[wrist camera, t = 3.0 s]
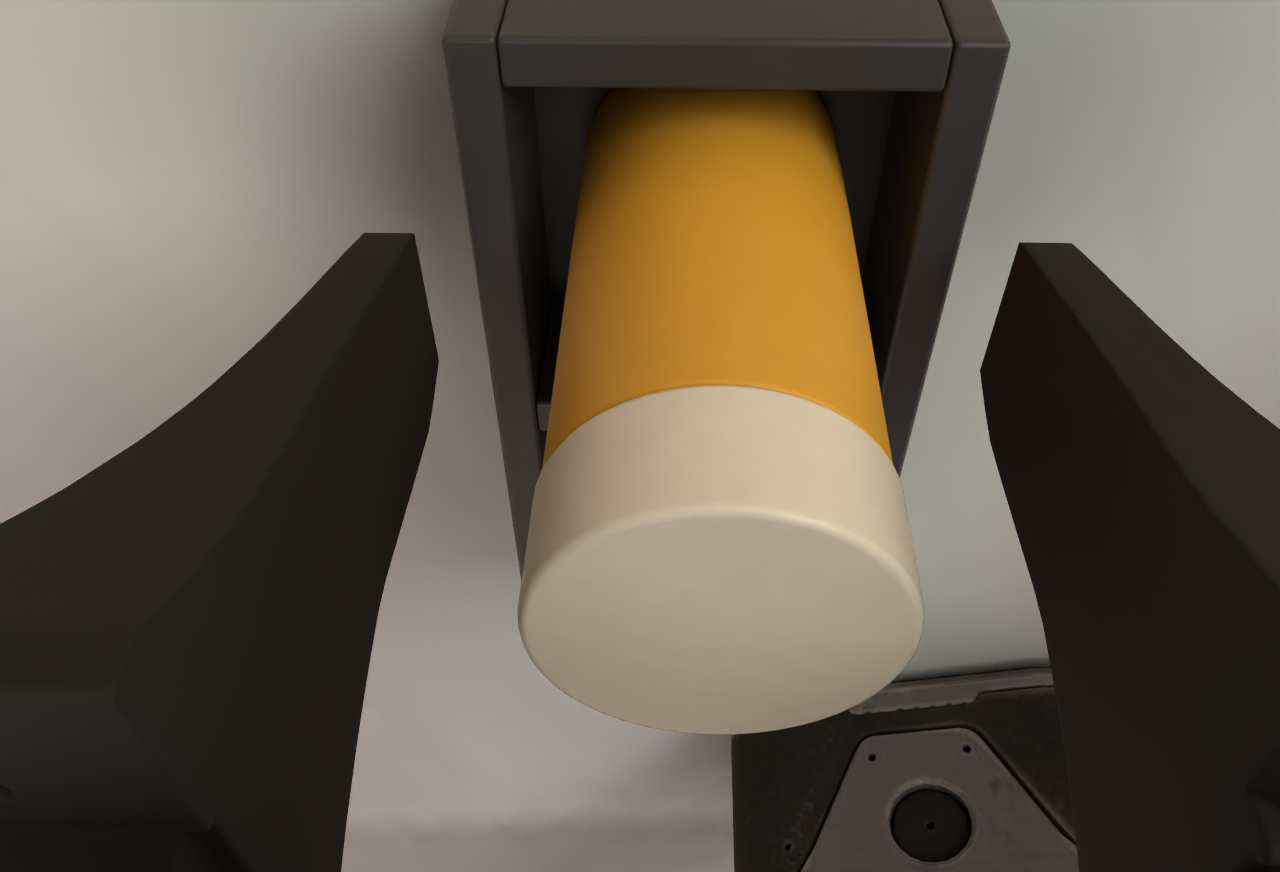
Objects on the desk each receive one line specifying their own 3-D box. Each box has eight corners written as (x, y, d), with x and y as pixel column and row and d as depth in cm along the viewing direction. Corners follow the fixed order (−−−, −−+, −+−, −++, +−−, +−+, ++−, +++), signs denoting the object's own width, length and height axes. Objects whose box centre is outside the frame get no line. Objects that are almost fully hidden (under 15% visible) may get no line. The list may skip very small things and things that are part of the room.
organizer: (965, -66, 13) (1013, 43, 11) (842, 522, 22) (857, 645, 20) (477, -70, 13) (439, 37, 11) (544, 515, 22) (528, 636, 20)
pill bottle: (858, 40, 14) (965, 516, 8) (824, 269, 16) (889, 744, 11) (574, 38, 14) (496, 505, 8) (587, 264, 17) (532, 732, 11)
